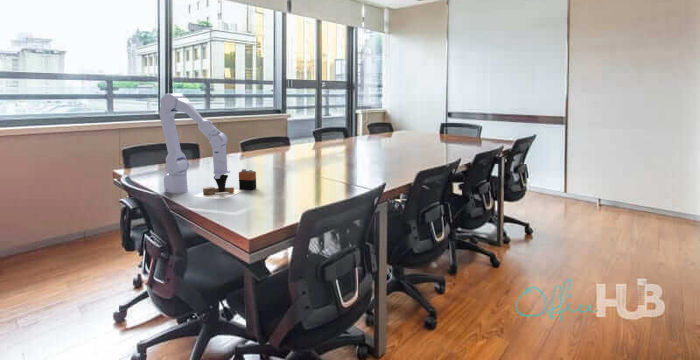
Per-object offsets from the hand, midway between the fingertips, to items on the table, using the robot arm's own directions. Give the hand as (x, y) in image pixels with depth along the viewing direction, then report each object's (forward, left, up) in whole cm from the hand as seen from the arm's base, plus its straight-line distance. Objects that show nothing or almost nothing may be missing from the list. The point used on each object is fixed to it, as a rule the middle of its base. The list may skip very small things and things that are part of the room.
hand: (222, 191), depth 189 cm
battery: (+6, +12, -2) cm, 14 cm away
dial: (-2, 0, -1) cm, 2 cm away
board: (-2, +1, -2) cm, 3 cm away
